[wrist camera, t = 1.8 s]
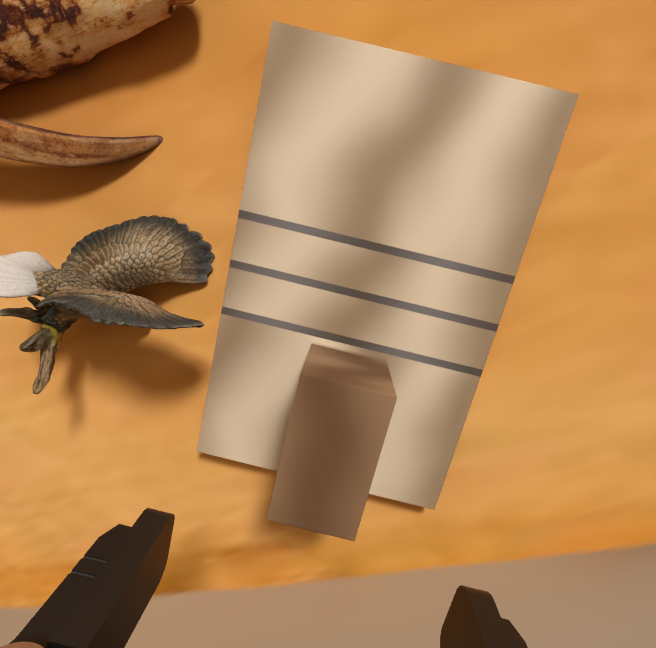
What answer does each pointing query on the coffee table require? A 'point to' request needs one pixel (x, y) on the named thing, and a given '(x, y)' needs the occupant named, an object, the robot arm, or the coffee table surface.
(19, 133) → the lashed bone hook
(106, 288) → the eagle figurine
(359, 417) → the block
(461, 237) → the birch board
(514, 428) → the coffee table surface
